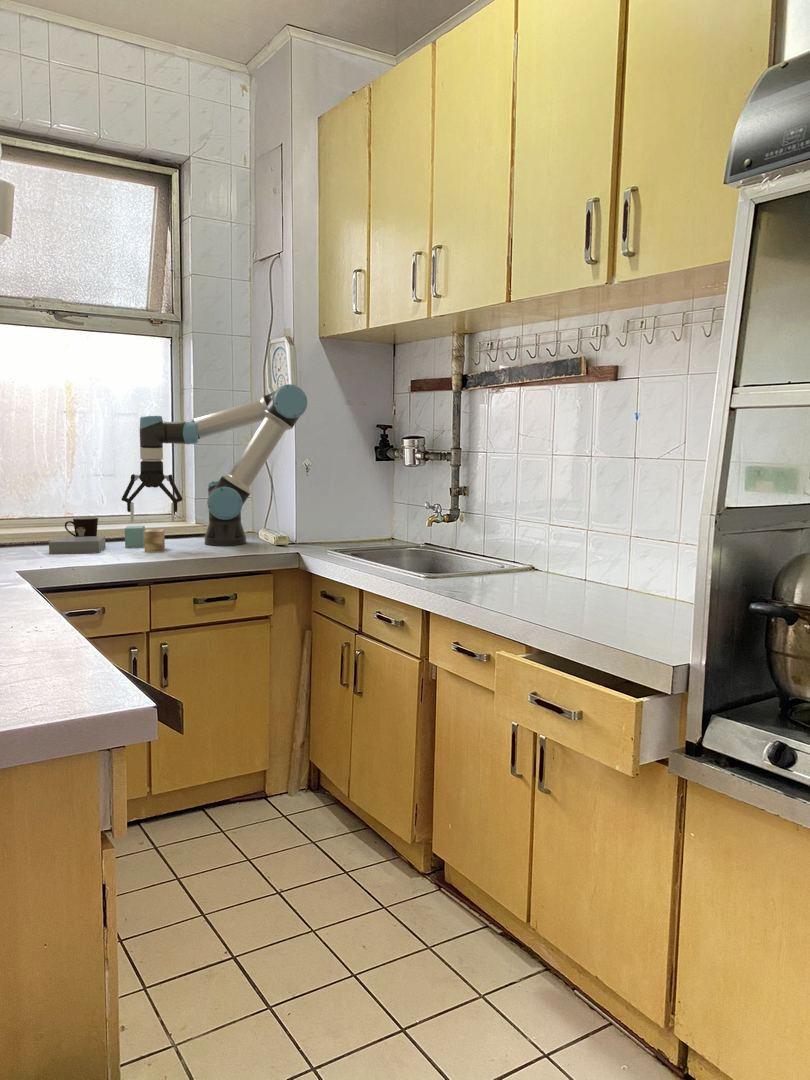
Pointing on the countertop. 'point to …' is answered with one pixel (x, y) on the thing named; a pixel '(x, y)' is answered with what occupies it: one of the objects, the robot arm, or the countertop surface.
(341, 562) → the countertop surface
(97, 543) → the slate plinth
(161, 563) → the countertop surface
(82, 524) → the coffee mug
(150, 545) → the oak brick
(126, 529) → the teal brick
